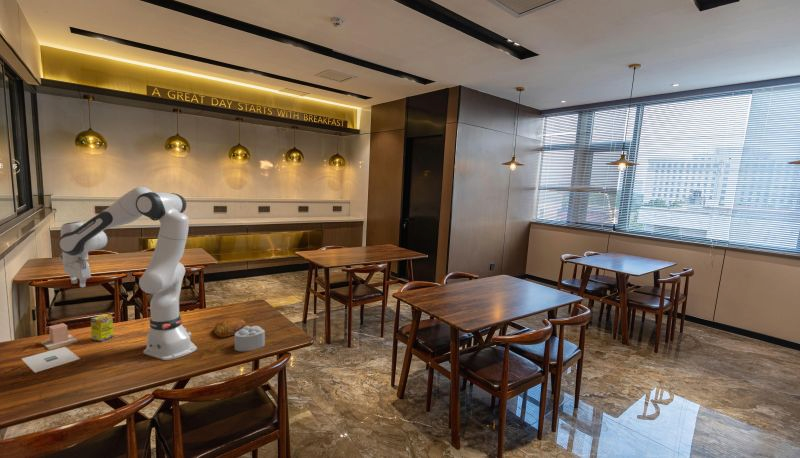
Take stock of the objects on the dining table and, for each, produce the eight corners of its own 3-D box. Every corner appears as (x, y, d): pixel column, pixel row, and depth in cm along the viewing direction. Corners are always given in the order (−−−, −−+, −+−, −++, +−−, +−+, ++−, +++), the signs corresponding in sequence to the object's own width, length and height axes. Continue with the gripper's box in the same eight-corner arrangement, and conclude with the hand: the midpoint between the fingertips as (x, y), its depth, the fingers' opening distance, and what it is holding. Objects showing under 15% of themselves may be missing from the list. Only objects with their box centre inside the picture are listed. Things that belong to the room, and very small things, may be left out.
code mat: (80, 359, 154) (80, 358, 154) (34, 373, 142) (34, 372, 142) (65, 346, 163) (65, 346, 163) (21, 359, 151) (21, 358, 151)
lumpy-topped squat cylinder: (266, 345, 174) (266, 328, 173) (239, 354, 165) (239, 336, 164) (257, 338, 182) (257, 322, 180) (231, 345, 173) (230, 328, 171)
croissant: (250, 334, 190) (252, 319, 190) (222, 340, 177) (224, 324, 177) (234, 326, 198) (236, 312, 198) (206, 331, 185) (208, 316, 185)
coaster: (77, 341, 168) (77, 339, 168) (48, 349, 160) (48, 347, 160) (69, 335, 174) (69, 333, 173) (41, 343, 165) (41, 341, 165)
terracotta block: (68, 340, 167) (67, 325, 166) (53, 344, 163) (52, 329, 162) (64, 337, 170) (63, 323, 169) (50, 340, 166) (48, 326, 165)
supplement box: (101, 342, 169) (100, 320, 168) (91, 340, 170) (90, 318, 169) (114, 337, 175) (112, 315, 173) (104, 335, 176) (102, 314, 174)
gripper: (93, 258, 165) (96, 287, 167) (75, 252, 176) (78, 280, 178) (75, 260, 160) (79, 290, 162) (58, 254, 170) (61, 283, 172)
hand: (78, 285), depth 170 cm, fingers open, 8 cm apart
